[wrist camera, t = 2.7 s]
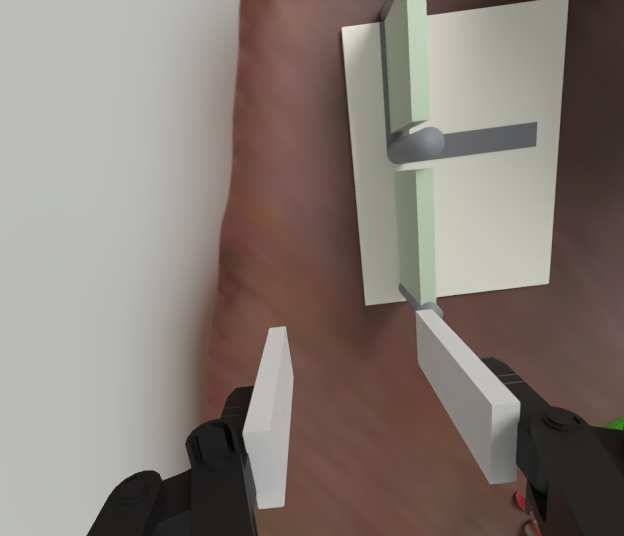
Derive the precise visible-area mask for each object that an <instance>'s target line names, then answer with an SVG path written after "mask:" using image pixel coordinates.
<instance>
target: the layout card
mask: <svg viewBox="0 0 624 536" xmlns="http://www.w3.org/2000/svg"><path fill="white" fill-rule="evenodd" d="M568 1H569V0H537V1H530V2H523V3H516V4H508V5H501V6H494V7H487V8H479V9H472V10H465V11H457V12H450V13H443V14H436V15H428V16H427V46H428V83H429V120H428V121H426V122H424V123H421V124H419V125H417V126H415V127H413V128H411V129H409V130H407V131H405V132H398V133H391V128H390V110H389V92H388V75H387V57H386V39H385V21H382V22H378V23H370V24H363V25H356V26H349V27H342V29H341V31H342V43H343V54H344V66H345V78H346V89H347V101H348V112H349V124H350V135H351V147H352V158H353V170H354V181H355V193H356V205H357V216H358V228H359V239H360V251H361V262H362V274H363V285H364V297H365V305H366V306H367V305H375V304H383V303H392V302H400V301H407V300H406V299H405V298H404V296H403V295H402V294H401V293H400V291H399V288H398V287H399V284H400V269H399V251H398V233H397V215H396V197H395V179H394V172H396V171H404V170H414V169H425V168H433V193H434V232H435V271H436V297H442V296H450V295H459V294H467V293H476V292H484V291H492V290H501V289H509V288H518V287H526V286H534V285H543V284H549V275H550V260H551V246H552V231H553V217H554V203H555V188H556V174H557V159H558V145H559V131H560V116H561V102H562V87H563V73H564V59H565V44H566V30H567V15H568ZM426 127H435V128H437V129H439V130H440V131H441V132H442V134H443V136H444V147H443V150H442V151H441V153H440V154H439V155H438V156H436V157H435V158H432V159H427V160H421V161H415V162H408V163H402V164H394V163H392V162H391V161H390V160H389V159H388V156H387V150H388V147H389V145H390V144H391V143H392V142H394V141H396V140H398V139H400V138H403V137H405V136H407V135H410V134H412V133H414V132H416V131H419V130H421V129H423V128H426Z"/></svg>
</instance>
